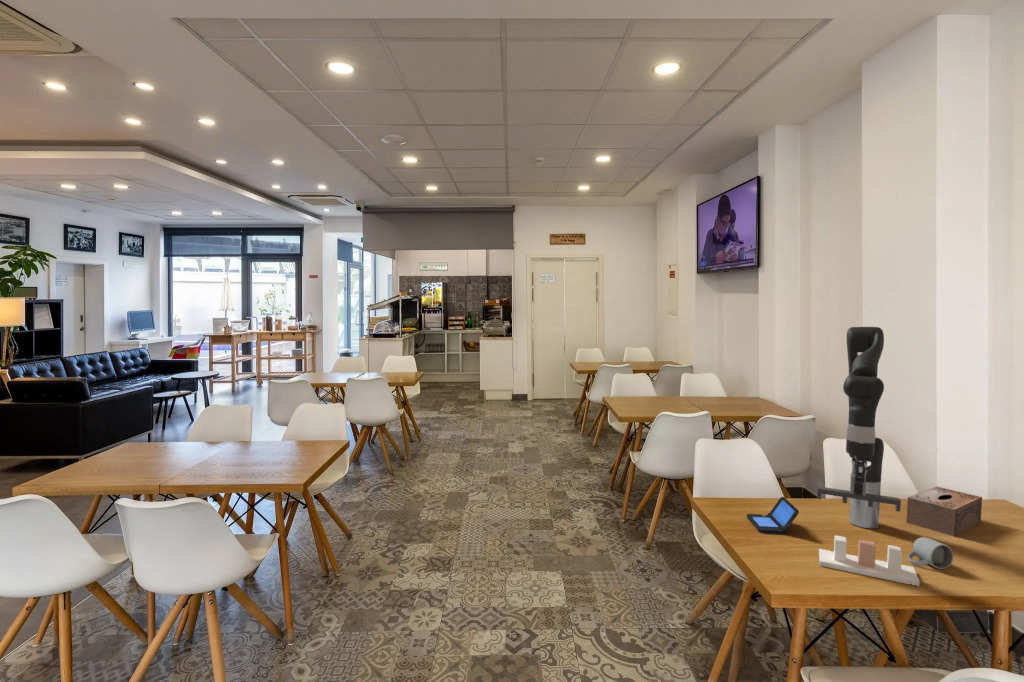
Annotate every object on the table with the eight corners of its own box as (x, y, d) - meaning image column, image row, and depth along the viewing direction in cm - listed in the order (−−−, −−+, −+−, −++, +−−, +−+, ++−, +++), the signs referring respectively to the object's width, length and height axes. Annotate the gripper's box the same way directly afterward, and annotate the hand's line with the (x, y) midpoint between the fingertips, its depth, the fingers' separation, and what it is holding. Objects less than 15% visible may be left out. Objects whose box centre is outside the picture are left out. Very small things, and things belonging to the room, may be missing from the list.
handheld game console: (745, 517, 206) (746, 493, 205) (781, 519, 204) (782, 495, 204) (759, 533, 190) (760, 508, 190) (798, 536, 189) (799, 510, 188)
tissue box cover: (935, 510, 215) (936, 486, 215) (980, 522, 203) (982, 497, 203) (906, 523, 202) (907, 497, 201) (953, 537, 189) (954, 509, 189)
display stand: (818, 553, 175) (819, 529, 174) (912, 571, 163) (914, 546, 162) (819, 565, 166) (820, 540, 165) (919, 586, 154) (920, 559, 153)
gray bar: (817, 496, 175) (818, 469, 175) (899, 509, 164) (900, 480, 164) (817, 499, 173) (818, 471, 172) (900, 512, 162) (901, 482, 161)
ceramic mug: (930, 556, 173) (931, 533, 173) (953, 568, 165) (954, 544, 164) (900, 558, 172) (901, 535, 171) (922, 570, 164) (923, 546, 163)
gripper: (845, 434, 176) (842, 485, 176) (847, 441, 163) (844, 497, 164) (872, 437, 172) (869, 489, 173) (877, 445, 160) (874, 501, 160)
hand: (857, 493), depth 168 cm, fingers closed on gray bar, 3 cm apart
